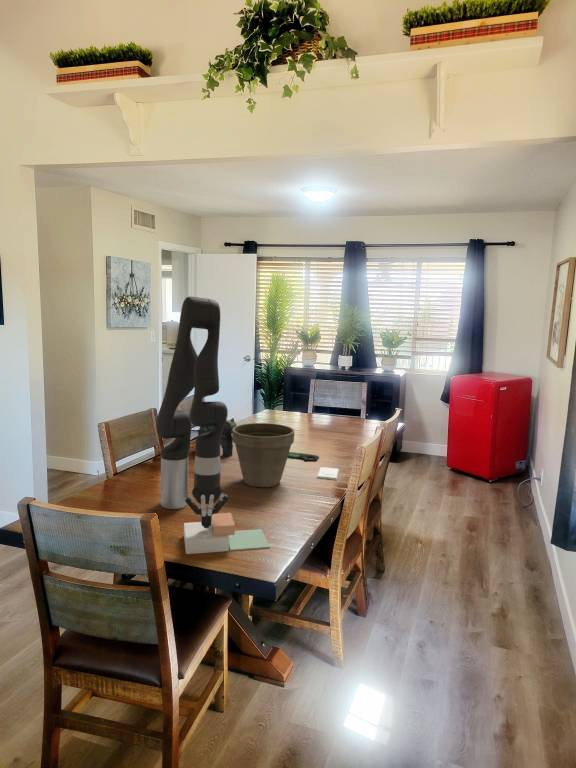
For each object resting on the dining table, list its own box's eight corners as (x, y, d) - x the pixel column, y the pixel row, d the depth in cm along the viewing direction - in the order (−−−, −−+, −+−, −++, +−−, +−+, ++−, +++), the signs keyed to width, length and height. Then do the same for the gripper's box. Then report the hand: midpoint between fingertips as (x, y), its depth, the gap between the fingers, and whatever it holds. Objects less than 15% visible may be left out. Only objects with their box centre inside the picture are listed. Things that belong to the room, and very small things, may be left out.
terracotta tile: (210, 523, 155) (211, 513, 154) (230, 522, 156) (230, 512, 156) (213, 536, 146) (214, 526, 146) (234, 534, 148) (234, 525, 147)
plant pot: (224, 473, 214) (226, 422, 210) (280, 469, 222) (282, 420, 219) (239, 494, 190) (240, 438, 187) (300, 489, 199) (303, 435, 195)
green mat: (225, 532, 158) (225, 531, 158) (261, 530, 161) (261, 529, 161) (230, 550, 146) (230, 549, 146) (269, 547, 149) (269, 546, 149)
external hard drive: (338, 472, 224) (336, 481, 212) (319, 470, 225) (316, 479, 213) (338, 468, 224) (336, 477, 212) (320, 466, 225) (317, 475, 213)
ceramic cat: (236, 455, 240) (238, 413, 237) (228, 458, 234) (230, 416, 232) (202, 448, 249) (203, 408, 246) (194, 451, 243) (195, 410, 241)
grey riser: (183, 535, 155) (184, 522, 154) (223, 532, 158) (223, 520, 157) (186, 554, 143) (186, 540, 143) (228, 550, 146) (229, 537, 146)
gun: (281, 456, 238) (287, 451, 248) (281, 459, 238) (287, 453, 248) (315, 460, 234) (320, 454, 244) (315, 463, 234) (319, 457, 244)
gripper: (228, 465, 152) (227, 520, 155) (183, 466, 149) (182, 523, 152) (232, 473, 145) (230, 531, 148) (184, 474, 142) (183, 533, 144)
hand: (206, 526), depth 150 cm, fingers closed
